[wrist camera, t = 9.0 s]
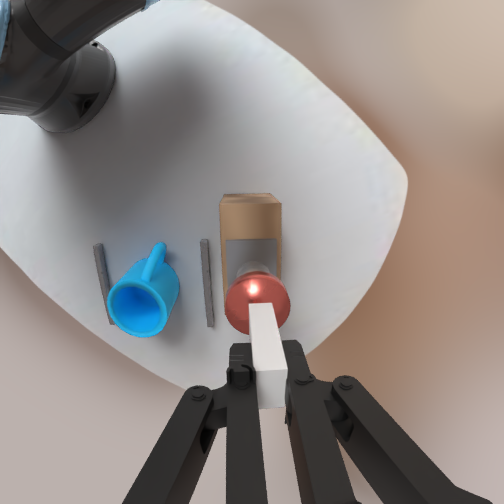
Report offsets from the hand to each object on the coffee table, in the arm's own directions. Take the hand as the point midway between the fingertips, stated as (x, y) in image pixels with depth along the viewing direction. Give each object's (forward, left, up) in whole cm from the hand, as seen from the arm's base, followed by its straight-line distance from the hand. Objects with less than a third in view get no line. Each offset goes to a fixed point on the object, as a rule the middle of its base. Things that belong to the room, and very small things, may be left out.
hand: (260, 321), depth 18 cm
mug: (+5, -13, -21) cm, 26 cm away
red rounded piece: (0, 0, -8) cm, 8 cm away
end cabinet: (0, 0, -21) cm, 21 cm away
